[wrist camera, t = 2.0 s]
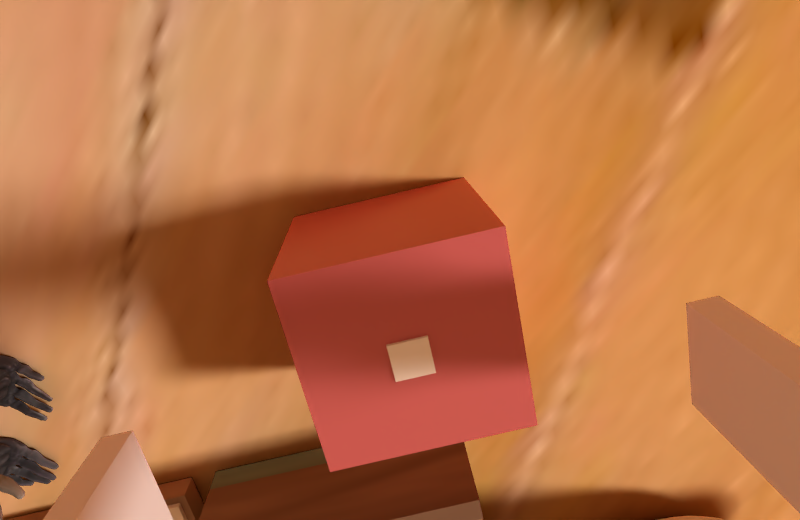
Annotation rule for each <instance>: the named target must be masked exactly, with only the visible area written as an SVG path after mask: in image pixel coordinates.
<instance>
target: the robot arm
mask: <svg viewBox="0 0 800 520" xmlns="http://www.w3.org/2000/svg"><path fill="white" fill-rule="evenodd" d="M686 309H687V326H688V344H689V361H690V379H691V396H692V404H693V405H694V406H695V407H696V408H697V409H698V410H699V411H700V412H701V413H702V414H703V415H704V416H705V417H706V418H707V419H708V420H709V422H710V423H711V424H712V425H713V426H714V427H715V428H716V429H717V430H718V431H719V432H720V433H721V434H722V435H723V436H724V437H725V438H726V439H727V440H728V441H729V442H730V443H731V444H732V445H733V446H734V447H735V448H736V449H737V450H738V451H739V452H740V453H741V454H742V455H743V456H744V457H745V458H746V459H747V460H748V461H749V462H750V463H751V464H752V465H753V466H754V467H755V468H756V469H757V470H758V471H759V472H760V473H761V474H762V475H763V476H764V477H765V478H766V480H767V481H768V482H769V483H770V484H771V485H772V486H773V487H774V488H775V489H776V490H777V491H778V492H779V493H780V494H781V495H782V496H783V497H784V498H785V499H786V500H787V501H788V502H789V503H790V504H791V505H792V506H793V507H794V508H795V509H796V510H797V511H798V512H799V513H800V347H799V346H797V345H795V344H794V343H792V342H791V341H789V340H788V339H786V338H784V337H783V336H781V335H780V334H778V333H777V332H775V331H773V330H772V329H770V328H769V327H767V326H766V325H764V324H762V323H761V322H759V321H758V320H756V319H755V318H753V317H752V316H750V315H748V314H747V313H745V312H744V311H742V310H741V309H739V308H737V307H736V306H734V305H733V304H731V303H730V302H728V301H726V300H725V299H723V298H722V297H720V296H716V297H711V298H707V299H702V300H698V301H694V302H689V303H686ZM43 520H173V518H172V516H171V513H170V511H169V509H168V507H167V505H166V502H165V500H164V498H163V496H162V494H161V491H160V489H159V487H158V485H157V483H156V480H155V478H154V476H153V474H152V472H151V469H150V467H149V465H148V463H147V461H146V458H145V456H144V454H143V452H142V450H141V447H140V445H139V443H138V441H137V439H136V437H135V434H134V432H133V430H132V431H128V432H124V433H119V434H115V435H111V436H106V437H102V438H100V440H99V441H98V443H97V444H96V445H95V447H94V448H93V450H92V451H91V452H90V454H89V455H88V457H87V458H86V459H85V461H84V462H83V464H82V465H81V466H80V468H79V469H78V471H77V472H76V474H75V475H74V476H73V478H72V479H71V481H70V482H69V483H68V485H67V486H66V488H65V489H64V490H63V492H62V493H61V495H60V496H59V497H58V499H57V500H56V502H55V503H54V504H53V506H52V507H51V509H50V510H49V512H48V513H47V514H46V516H45V517H44V519H43Z"/></svg>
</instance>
